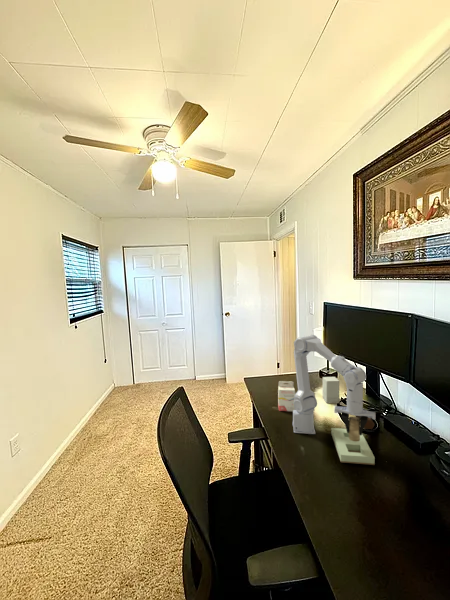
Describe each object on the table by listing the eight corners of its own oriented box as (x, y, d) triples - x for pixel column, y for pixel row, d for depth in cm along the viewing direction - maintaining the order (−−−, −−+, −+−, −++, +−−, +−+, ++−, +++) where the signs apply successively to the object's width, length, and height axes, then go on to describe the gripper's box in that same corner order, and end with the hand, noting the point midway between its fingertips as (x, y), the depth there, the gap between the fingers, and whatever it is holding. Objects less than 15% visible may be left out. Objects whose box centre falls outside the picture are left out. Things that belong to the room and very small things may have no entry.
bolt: (358, 418, 151) (370, 432, 136) (349, 413, 151) (360, 427, 137) (363, 408, 151) (376, 422, 136) (354, 403, 151) (366, 416, 136)
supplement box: (339, 403, 165) (339, 381, 163) (326, 403, 165) (326, 381, 164) (335, 397, 172) (335, 376, 171) (322, 397, 172) (322, 376, 171)
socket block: (340, 462, 113) (340, 454, 113) (331, 434, 133) (331, 428, 133) (374, 464, 111) (374, 457, 111) (359, 436, 131) (360, 429, 131)
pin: (348, 440, 116) (348, 420, 115) (349, 435, 119) (349, 415, 119) (359, 442, 114) (359, 422, 114) (360, 437, 118) (360, 417, 117)
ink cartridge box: (278, 411, 157) (278, 384, 156) (278, 407, 162) (277, 380, 161) (295, 411, 156) (295, 384, 155) (294, 407, 161) (293, 380, 160)
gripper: (375, 398, 116) (375, 431, 117) (336, 392, 122) (335, 424, 123) (375, 405, 109) (375, 440, 110) (333, 399, 116) (333, 432, 117)
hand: (354, 432), depth 116 cm, fingers closed on pin, 4 cm apart
